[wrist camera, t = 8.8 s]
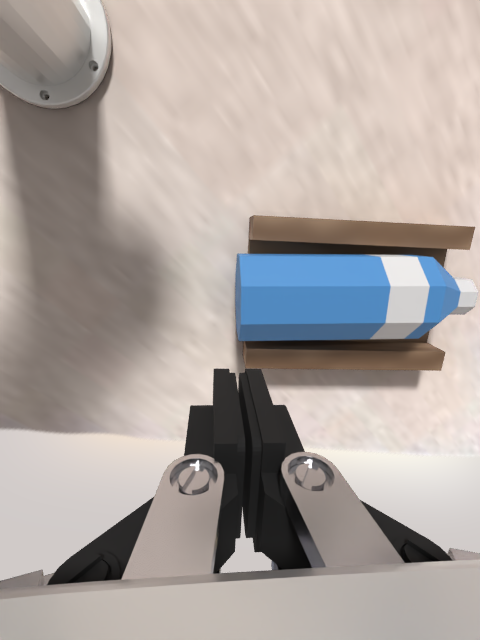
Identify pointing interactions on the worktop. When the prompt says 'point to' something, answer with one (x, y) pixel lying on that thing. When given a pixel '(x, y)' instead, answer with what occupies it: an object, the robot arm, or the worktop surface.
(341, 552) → the robot arm
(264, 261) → the water bottle
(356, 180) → the worktop surface
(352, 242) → the u rest
